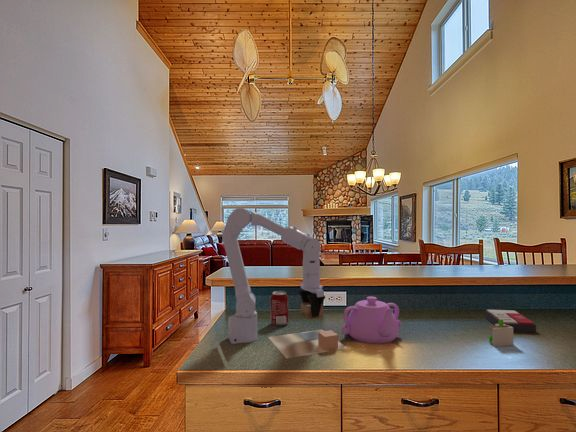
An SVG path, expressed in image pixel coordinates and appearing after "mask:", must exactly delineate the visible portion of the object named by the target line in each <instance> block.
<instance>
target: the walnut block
mask: <svg viewBox="0 0 576 432" xmlns="http://www.w3.org/2000/svg"><path fill="white" fill-rule="evenodd" d="M323 306H324V305H323V304H322V305H321V309H320V313H319V316H317V317H312V313H311V306H310V302H304V303H303V302H301V303H300V315H301V316H302V317H304V318H305V319H307V320H312V319H319V318H320V319H321V318H323V317H324V316H323V315H324V310H323V308H324V307H323Z"/></svg>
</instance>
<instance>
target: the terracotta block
mask: <svg viewBox="0 0 576 432" xmlns="http://www.w3.org/2000/svg"><path fill="white" fill-rule="evenodd" d="M338 341H339V334H338V333H336V332H334V331H333V330H331V329H330V330H323V331H322V332H318V345H319V346H320V347H322V348H323V349H324V350H329V349H335V348H338Z"/></svg>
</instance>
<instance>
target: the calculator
mask: <svg viewBox="0 0 576 432" xmlns="http://www.w3.org/2000/svg"><path fill="white" fill-rule="evenodd" d="M484 311H485V312H484V313H485V314H484V315H485V317H484V318H485V320H487V321H488V322H490V323H491V324H492V325H493V326H495V324H499V319H503V324H505V325H509V326H511V327H513V332H518V333H519V332H520V333H537V325H536V323H534V322H533V321H532V320H530V319H529V318H527V317H526V316H525V315H523V314H521V313H519V312H518V311H517V310H509V309H508V310H507V309H485V310H484Z"/></svg>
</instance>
